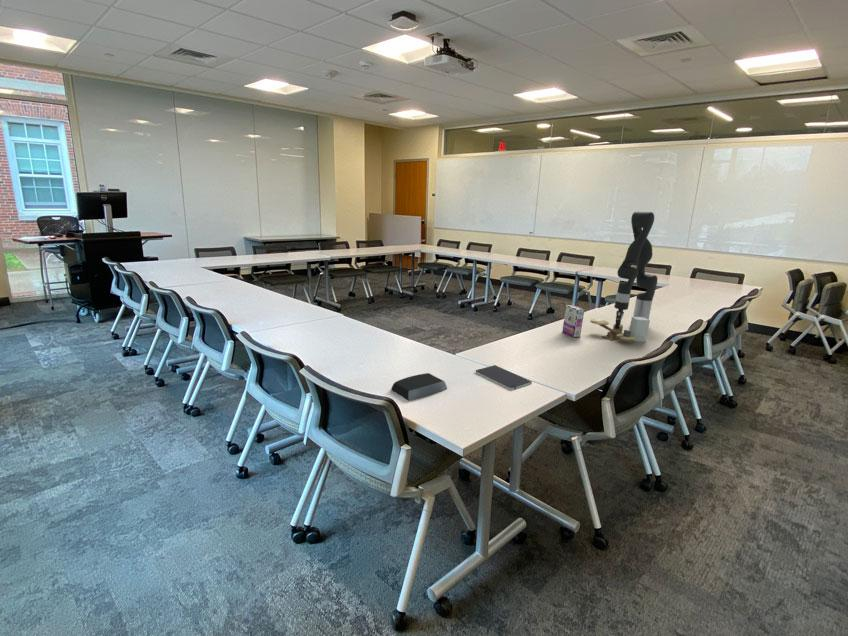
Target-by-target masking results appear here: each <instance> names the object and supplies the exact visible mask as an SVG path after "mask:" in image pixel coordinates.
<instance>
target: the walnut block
mask: <svg viewBox="0 0 848 636" xmlns="http://www.w3.org/2000/svg"><path fill="white" fill-rule="evenodd" d="M615 324H616V322H615V323H613V327H612V329H613V330H615V331H617V332H619V333H623V327H624V324H622V323H621V324H620V325H619V329H615Z"/></svg>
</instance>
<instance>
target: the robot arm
mask: <svg viewBox="0 0 848 636" xmlns="http://www.w3.org/2000/svg"><path fill="white" fill-rule="evenodd" d="M630 220H631V229H632V234H633V239H634V240H633V241H632V242H631V243H630V245H629V246H628V248H627V250H626V251H627V252H626V254H625V257H624V259H623V261H622V263H621V264H620V266H619V268H618V269H617V273H616V274H617V277H618V278H620V279H626V280H627V282H625V281H624V282H619V284H618V288H617V292H616V295H615V300H614V306H613V307H614V308H615V309H617V310H616V313H615V315H616V316H615V329H619V325H620V324H621V325H622V320H623V318H624V314H625V310H626V311H627V310H628V309H629V305H630V301H631V291H632V287H633V285H634V282H635V281H636V282H635V283H636V285H637V287H638V288H641V289H646V291H645V292H639V293H637V294H636V298H635V304H634V309H633V315H632V317H644V318H646V319H648V320H650V316H651V310H652V305H653V299H654V297H655V293H656V290H657V289H656V288H657V285H658V276H657V275H656V274H650V273H646V266H647V265H648V264H649V262H651V259H652V258H653V245H652V243H651V242H650V240H649V239H648V236H649V234H650V232H651V229H652V227H653V226H654V222H655V214H654V212H652V211H643V210H642V211H640V210H638V211H637V210H635V211H634V212H632V215H631V219H630ZM633 264H636V267H632V266H630V265H633Z"/></svg>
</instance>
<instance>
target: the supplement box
mask: <svg viewBox="0 0 848 636" xmlns="http://www.w3.org/2000/svg"><path fill="white" fill-rule="evenodd" d="M649 326H650V319H649V320H648V319H646V318H644V317H633V316H631V319H630V325H629V331H631V335H634V336H636V339H635V340H632V341H633V342H644V343H645V342H647V338H648V331H649V329H650V328H649Z"/></svg>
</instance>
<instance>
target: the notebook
mask: <svg viewBox="0 0 848 636" xmlns="http://www.w3.org/2000/svg"><path fill="white" fill-rule="evenodd" d="M475 374H477V375H480V376H481V377H483V378H486V379H487V380H489V381H491V382H494V383H496V384H498V385H500V386H502V387H504V388H506V389H508V390H509V391H510V390H511V391H513V390H516V389H518V388H521V387H524V386H527V385H530V384H531V385H532V381H531V380H530V379H527V378H524V377H522V376H521V375H518V374H516V373H514V372H512V371H510V370H507V369H505V368H504V367H503V368H502V367H500V366H498V365H496V364H493V365H491V366H486V367H483V368H479V369H475Z"/></svg>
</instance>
